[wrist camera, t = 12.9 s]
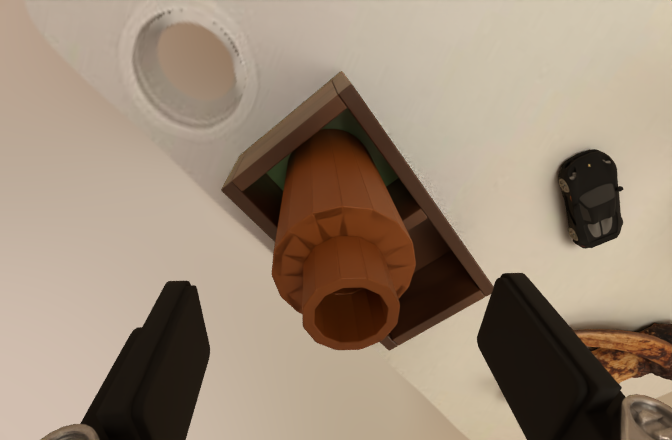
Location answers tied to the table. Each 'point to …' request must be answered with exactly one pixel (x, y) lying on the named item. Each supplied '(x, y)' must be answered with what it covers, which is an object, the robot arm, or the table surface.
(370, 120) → the holder
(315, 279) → the bottle
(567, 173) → the toy car
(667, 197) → the table surface
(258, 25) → the table surface
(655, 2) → the table surface
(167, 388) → the robot arm
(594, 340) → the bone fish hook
